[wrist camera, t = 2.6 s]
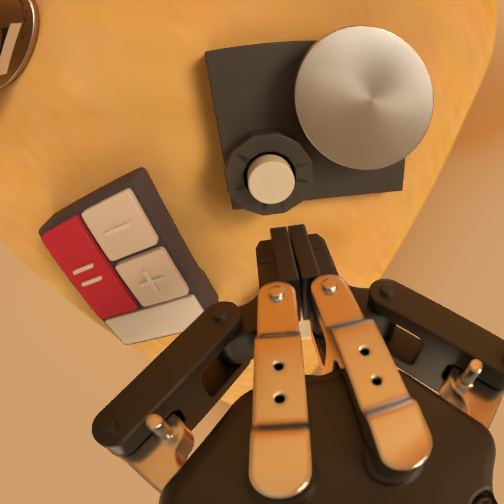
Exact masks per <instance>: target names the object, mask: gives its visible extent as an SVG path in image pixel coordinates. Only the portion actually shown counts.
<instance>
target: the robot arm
mask: <svg viewBox="0 0 504 504" xmlns="http://www.w3.org/2000/svg"><path fill="white" fill-rule="evenodd" d="M38 31H39V11H38V7H37V4H36V2H35V0H0V89H1V88H4V87H5V86H7V85H9V84H10V83H11V82H12V81H14V80H15V79H16V78H17V77H18V75H19V74H20V73H21V72H22V70H23V69H24V67H25V66H26V64H27V62H28V61H29V59H30V57H31V55H32V52H33V50H34V47H35V44H36V40H37V36H38ZM270 234H271V240H265V241H260V242H259V244H258V245H257V247H256V256H257V266H258V277H259V287H260V288H259V292H258V295H257V296H256V297H255V298H254V299H253V300H252V301H251V302H249V303H247V304H245V305H242V306H239V307H238V306H236V305H235V304H233V303H231V302H225V301H223V302H217V303H214V304H212V305H210V306H209V307H208V308H206V309H205V310H204V311H203V312H202V313H201V314H200V315H199V316H198V317H197V318H196V319H195V320H194V321H193V322H192V323H191V324H190V325H189V326H188V327H187V328H186V329H185V330H184V331H183V332H182V333H181V334H180V335H179V336H178V337H177V338H176V339H175V340H174V341H173V342H172V343H171V344H170V345H169V346H168V347H167V348H166V349H165V350H164V351H163V352H162V353H161V354H160V355H158V356H157V357H156V358H155V359H154V360H153V361H152V362H151V363H150V364H149V365H148V366H147V367H146V368H145V369H144V370H143V371H142V372H141V373H140V374H139V375H138V376H137V377H136V378H135V379H134V380H133V381H132V382H131V383H130V384H129V385H128V386H127V387H126V388H125V389H124V390H122V391H121V392H120V393H119V394H118V395H117V396H116V397H115V398H114V399H113V400H112V401H111V402H110V403H109V404H108V405H107V406H106V407H105V408H104V409H103V410H102V411H101V412H100V413H99V414H98V415H97V416H96V417H95V419H94V421H93V424H92V434H93V437H94V438H95V440H96V441H97V442H98V443H100V444H101V445H102V446H104V447H105V448H107V449H108V450H109V451H110V452H111V453H112V454H114V455H116V456H117V457H119V458H120V459H122V460H124V461H126V462H127V463H128V464H129V465H130V466H131V467H132V468H133V469H134V470H135V471H136V472H137V473H138V474H139V475H140V476H142V477H143V478H144V479H145V480H146V481H147V482H148V483H149V484H150V485H151V486H152V487H154V488H155V489H156V490H157V491H158V492H159V493H161V495H160V499H159V504H498V503H497V502H496V500H495V498H494V495H493V488H492V479H493V468H494V462H495V454H496V452H495V451H496V449H495V443H494V439H493V437H492V435H491V433H490V431H489V430H488V429H489V427H490V424H491V422H492V420H493V418H494V415H495V413H496V411H497V408H498V406H499V404H500V402H501V399H502V397H503V394H504V340H503V339H501V338H499V337H498V336H496V335H494V334H492V333H491V332H489V331H487V330H485V329H483V328H482V327H480V326H478V325H476V324H474V323H473V322H471V321H469V320H467V319H465V318H464V317H462V316H460V315H458V314H456V313H454V312H453V311H451V310H449V309H447V308H445V307H443V306H442V305H440V304H438V303H436V302H434V301H432V300H430V299H428V298H426V297H425V296H423V295H421V294H419V293H417V292H415V291H413V290H411V289H409V288H407V287H405V286H403V285H402V284H400V283H398V282H396V281H393V280H389V279H380V280H377V281H375V282H374V283H372V285H371V286H370V289H367V288H357V287H352V286H350V285H348V284H347V282H346V281H345V280H344V279H343V278H341V277H340V276H339V275H338V272H337V270H336V267H335V265H334V262H333V260H332V257H331V255H330V253H329V250H328V248H327V245H326V243H325V240H324V239H323V238H322V237H320V236H319V235H318V234H310V235H308V234H307V231H306V228H305V225H304V224H301V225H293V226H288V232H287V228H286V227H278V228H271V229H270ZM301 312H302V317H303V320H310V324H311V337H312V340H313V343H314V347H315V350H316V353H317V356H318V359H319V363H320V366H321V369H322V373H323V375H321V376H316V375H305V373H304V362H303V351H302V341H301V333H300V329H299V321H301ZM396 324H397V325H399V326H401V327H402V328H404V329H406V330H408V331H410V332H411V333H413V334H414V335H416V336H418V337H419V338H420V339H421V340H420V339H418V338H416V337H414V336H413V335H411V334H409V333H408V332H406V331H404V330H402V329H401V328H399V327H397V326H396ZM253 358H254V376H253V389H252V390H250V391H248V392H247V393H245V394H244V395H242V396H241V397H240V398H239V399H238V400H237V401H236V402H235V403H234V404H233V405H232V406H231V407H230V409H229V410H228V411H227V412H226V414H225V415H224V416H223V418H222V419H221V420H220V421H219V422H218V424H217V425H216V426H215V427H214V429H213V430H212V431H211V432H210V434H209V435H208V436H207V437H206V439H205V440H204V441H203V442H202V443H201V444H200V446H199V447H198V448H197V449H196V450H195V452H194V453H193V454H192V455H191V456H190V458H189V459H188V460H187V457H188V455H189V453H190V452H191V450H192V448H193V446H194V436H193V434H192V432H191V431H192V430H193V429H194V428H195V426H196V425H197V424H198V423H199V422H200V421H201V420H202V419H203V418H204V416H205V415H206V414H207V413H208V412H209V411H210V410H211V408H212V407H213V406H214V405H215V404H216V403H217V402H218V400H219V399H220V398H221V397H222V396H223V395H224V393H225V392H226V391H227V390H228V389H229V388H230V386H231V385H232V384H233V383H234V382H235V381H236V379H237V378H238V377H239V376H240V375H241V373H242V372H243V371H244V370H245V369H246V367H247V366H248V365H249V363H250V360H251V359H253ZM396 366H397V367H398V368H400V369H402V370H403V371H405V372H406V373H408V374H409V375H411V376H413V377H414V378H416V379H418V380H419V381H421V382H422V383H424V384H426V385H427V386H429V387H430V388H432V389H434V390H435V391H437V392H439V395H440V396H439V395H438V394H436V393H435V392H433V391H432V390H430V389H429V388H427V387H426V386H424V385H423V384H421V383H420V382H418V381H417V380H415V379H414V378H412V377H411V376H409V375H408V374H406V373H404V372H402V371H400V370H398V369H397V367H396Z"/></svg>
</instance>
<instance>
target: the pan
mask: <svg viewBox="0 0 504 504" xmlns="http://www.w3.org/2000/svg"><path fill="white" fill-rule="evenodd" d="M293 102H294V108H295V113H296V116H297V119H298V122H299V124H300V126H301V128H302V130H303V132H304V133H305V135H306V137H307V138H308V139H309V141H310V142H311V143H312V144H313V146H314V147H315V148H316V149H317V150H318V151H319V152H320V153H322V154H323V155H324V156H326V157H327V158H328V159H330V160H332V161H334V162H335V163H337V164H340V165H342V166H345V167H349V168H352V169H359V170H373V169H380V168H384V167H387V166H390V165H392V164H395V163H397V162H398V161H400V160H402V159H403V158H405V157H406V156H407V155H409V154H410V153H411V152H412V151H413V150H414V149H415V148H416V147H417V146H418V144H419V143H420V142H421V140H422V139H423V137H424V136H425V134H426V132H427V129H428V127H429V124H430V121H431V118H432V113H433V104H434V98H433V88H432V83H431V79H430V76H429V74H428V71H427V69H426V67H425V65H424V63H423V61H422V60H421V58H420V57H419V56H418V54H417V53H416V52H415V51H414V50H413V48H412V47H411V46H410V45H409V44H407V43H406V42H405V41H404V40H402V39H401V38H399V37H398V36H396V35H395V34H393V33H390V32H388V31H386V30H383V29H380V28H376V27H371V26H351V27H345V28H341V29H338V30H335V31H333V32H330V33H328V34H326V35H325V36H323V37H322V38H320V39H319V40H318V41H317V42H315V43H314V44H313V45H312V46H311V47H310V49H309V50H308V51H307V52H306V54H305V55H304V57H303V58H302V60H301V62H300V64H299V67H298V69H297V72H296V75H295V80H294V87H293Z"/></svg>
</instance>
